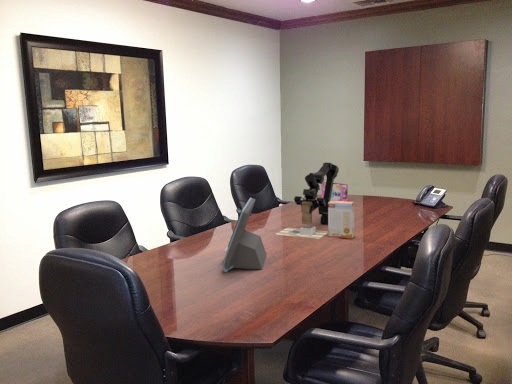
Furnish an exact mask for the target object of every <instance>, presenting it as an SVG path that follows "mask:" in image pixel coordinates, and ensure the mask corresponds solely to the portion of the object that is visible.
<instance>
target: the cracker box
mask: <svg viewBox="0 0 512 384" xmlns="http://www.w3.org/2000/svg"><path fill="white" fill-rule="evenodd" d="M327 225H328V227H327V229H328V230H327V231H328V233H327V234H328V237H333V238H339V239H349V240H350V239H351V240H352V239H353V238H355V201H332V200H330V202H328V224H327Z"/></svg>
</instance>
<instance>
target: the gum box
mask: <svg viewBox="0 0 512 384" xmlns="http://www.w3.org/2000/svg"><path fill="white" fill-rule="evenodd" d="M320 185H321V187H320V190H321V191H320V192H321V197H320V198H323V197H324V191H325V185H326V182H323V183H322V184H320ZM348 187H349V186H348V184H346V183H340V182H339V183H338V182H333V188H332V194H331V200H330V201H347V202H349V201H348V200H349V199H348V198H349V197H348V196H349V195H348V194H349V193H348V192H349V191H348V190H349V189H348Z"/></svg>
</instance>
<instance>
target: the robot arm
mask: <svg viewBox="0 0 512 384" xmlns="http://www.w3.org/2000/svg"><path fill="white" fill-rule="evenodd" d="M339 171H340V169H339V167H338V165H336V164H333V163H332V162H323V164H322V166H321V167H320V168H319V170H317V172H310V173H309V174H306V176H305V177H304V180H305V182H306V185H307V186H308V188H303V192H302V195H303V197H304V198H303V197H302V196H301V195H299V196H298V195H296V196H294V198H293V200H294V203H295V204H296V206H301V210H302V202H304V201H311V202H312V206H311V209H310V212H309V213H310V214H311V213H312V214H313V212H314V211H315V210H317V209H318V215H320V224H321V225H328V202H330V201H332V200H331V194H332V188H333V183H335V182H334V181H335V179H336V178H337V176H338V173H339ZM325 177H326V179H325ZM324 181H326V185H325V191H324V197H323V198H322V197H318V193H319V191H320V190H321V187H320V185H321V184H322V183H324Z"/></svg>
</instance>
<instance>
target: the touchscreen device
mask: <svg viewBox="0 0 512 384" xmlns="http://www.w3.org/2000/svg"><path fill="white" fill-rule="evenodd" d="M255 203H256V199H255V198H252V197H250V198H248V200H247V201H246V203H245V204H244V206H243V207H242V209H241V211H239V212H240V213H239V215H238V218H237V221H236V224H235V226H234V229H233V232H232V233H231V237H230V240H229V241H228V245H227V246H226V248H225V249H224V253H225V255H224V259H223V260H224V261H223V262H222V263H223V264H222V270H223V272H224V273H228V272H229V271H230V270H232V269H243V270H244V269H245V270H246V269H247V270H262V271H263V270H264V269H263V268H264V266H265V261H266V259H267V252H266V249H265V245H264V244H263V243H264V242H263V239H262V237H261V235H259V234H256V233H254V232H251V231H249V230H246V227H247V224H248V222H249V219H250V216H251V214H252V211H253V208H254V206H255Z"/></svg>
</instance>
